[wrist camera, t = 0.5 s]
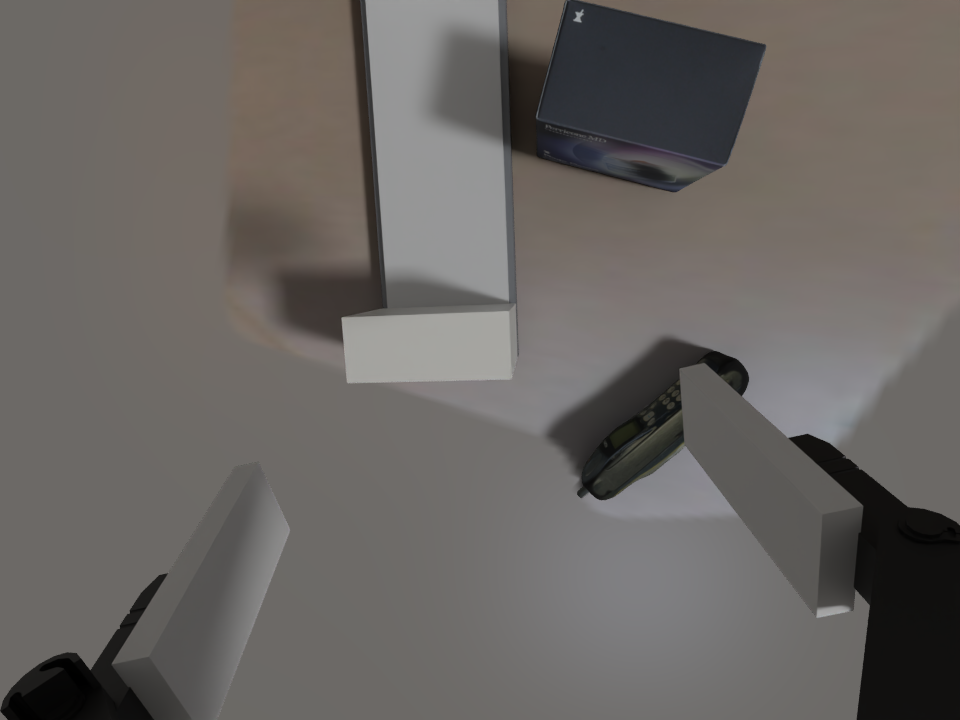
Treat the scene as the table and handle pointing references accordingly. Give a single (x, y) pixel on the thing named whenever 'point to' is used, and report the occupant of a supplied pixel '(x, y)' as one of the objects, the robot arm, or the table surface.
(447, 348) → the block
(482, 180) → the panel
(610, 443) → the mobile phone
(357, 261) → the table surface
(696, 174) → the small box
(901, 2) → the table surface
